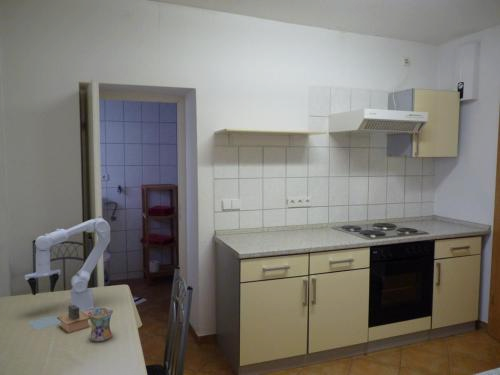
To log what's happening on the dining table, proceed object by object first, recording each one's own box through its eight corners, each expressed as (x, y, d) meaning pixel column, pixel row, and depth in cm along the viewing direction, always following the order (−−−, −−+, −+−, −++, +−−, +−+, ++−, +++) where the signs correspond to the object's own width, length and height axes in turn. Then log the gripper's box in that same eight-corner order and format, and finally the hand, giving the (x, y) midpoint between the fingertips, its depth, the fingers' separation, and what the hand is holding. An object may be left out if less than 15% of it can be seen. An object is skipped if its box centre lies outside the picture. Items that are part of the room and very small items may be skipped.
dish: (80, 322, 173) (79, 313, 172) (88, 328, 167) (87, 318, 167) (60, 327, 167) (60, 318, 167) (68, 334, 161) (68, 324, 161)
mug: (115, 339, 157) (115, 313, 156) (90, 345, 152) (90, 318, 151) (108, 328, 167) (108, 303, 166) (84, 333, 162) (84, 308, 161)
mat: (54, 316, 179) (54, 315, 179) (63, 323, 171) (63, 322, 171) (27, 323, 171) (27, 322, 171) (36, 331, 163) (36, 330, 163)
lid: (80, 312, 174) (80, 300, 174) (91, 318, 167) (90, 307, 167) (57, 318, 167) (56, 306, 167) (66, 325, 160) (66, 313, 160)
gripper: (28, 267, 170) (28, 298, 171) (63, 262, 181) (63, 291, 182) (22, 264, 175) (23, 294, 176) (57, 259, 186) (57, 287, 187)
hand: (43, 292), depth 179 cm, fingers open, 7 cm apart
